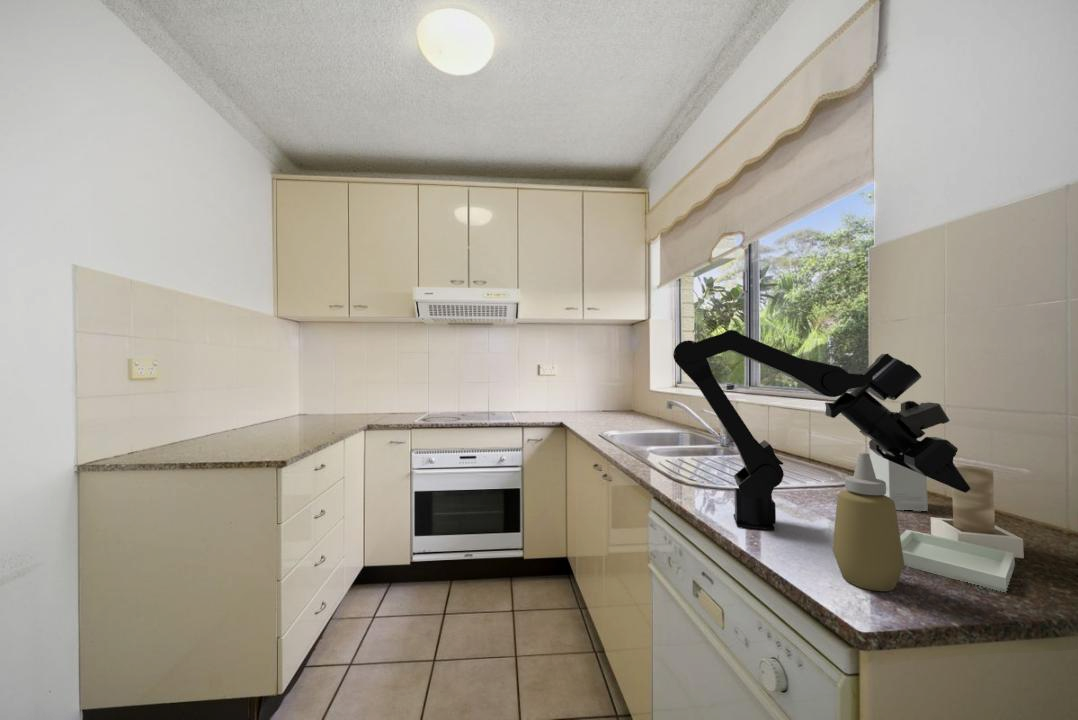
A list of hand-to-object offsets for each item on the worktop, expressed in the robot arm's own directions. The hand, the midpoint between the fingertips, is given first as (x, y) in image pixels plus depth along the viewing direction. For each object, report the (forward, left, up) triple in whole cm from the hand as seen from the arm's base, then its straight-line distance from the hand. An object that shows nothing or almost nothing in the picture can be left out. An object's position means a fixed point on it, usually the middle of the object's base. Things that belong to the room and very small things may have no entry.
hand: (950, 483), depth 74 cm
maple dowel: (+3, 0, -10) cm, 11 cm away
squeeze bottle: (-20, -21, -10) cm, 30 cm away
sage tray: (-5, -10, -10) cm, 15 cm away
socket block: (+3, 0, -10) cm, 11 cm away
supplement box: (+1, +22, -10) cm, 24 cm away
